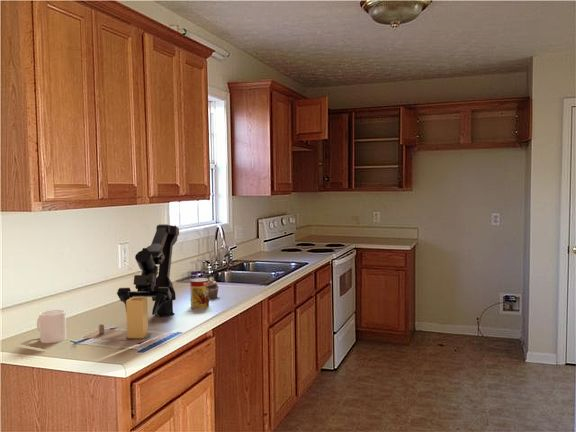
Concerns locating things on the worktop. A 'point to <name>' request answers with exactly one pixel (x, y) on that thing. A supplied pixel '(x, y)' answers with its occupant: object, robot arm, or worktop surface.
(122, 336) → the board
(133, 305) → the sleeve
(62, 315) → the mug
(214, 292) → the cupcake
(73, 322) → the worktop surface
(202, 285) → the canned food
